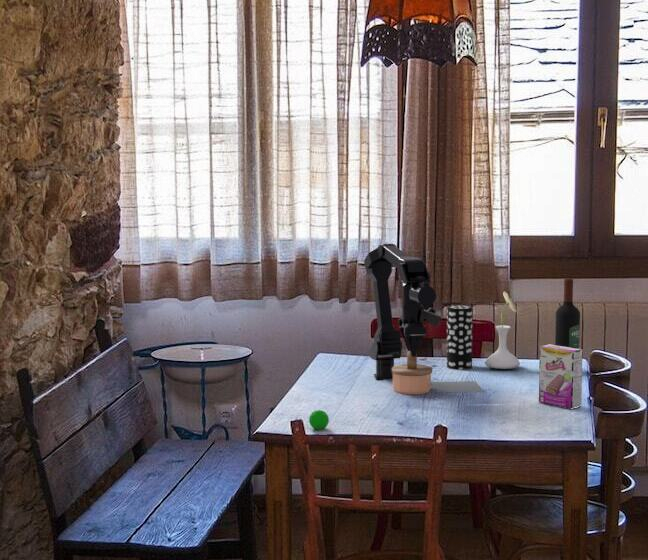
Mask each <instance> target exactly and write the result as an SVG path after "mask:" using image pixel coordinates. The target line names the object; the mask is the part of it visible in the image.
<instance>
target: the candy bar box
mask: <svg viewBox="0 0 648 560" xmlns="http://www.w3.org/2000/svg"><path fill="white" fill-rule="evenodd" d="M538 369H539V373H538V375H539V376H538V377H539V378H538V381H539V382H538V388H539V389H538V403H540V404H545V405H548V404H549V405H548V406H553V405H555V406H554V407H557V406H561V407H560V408H562V407H566V408H565V409H567V408H574V407H577V406H580V405H581V406H582V392H583V391H582V387H583V386H582V384H583V382H582V381H583V380H582V379H583V349H582V348H581V349H580V348H579V349H576V348H569V347H563V346H557V345H555V344H551V343H549V344H543V345H541V346H539V368H538Z"/></svg>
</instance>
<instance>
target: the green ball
mask: <svg viewBox="0 0 648 560" xmlns="http://www.w3.org/2000/svg"><path fill="white" fill-rule="evenodd" d="M329 419H330V418H329V416H328V414H327V413H326V412H325V411H323V410H321V409H318V410H314V411H313V412H311V413H310V415H309V419H308V420H309V425H310V426H311V428H312V429H315V430H316V429H318V430H317V431H321V430H320V429H322V430H324V429H325V428H326V427H327V426H328V424H329V423H330V420H329Z"/></svg>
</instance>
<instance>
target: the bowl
mask: <svg viewBox="0 0 648 560" xmlns="http://www.w3.org/2000/svg"><path fill="white" fill-rule="evenodd" d="M431 382H432V373H431V374H428V375H423V376H403V375H397V374H394V373H393V379H392V389H393V391H394V392H395V393H398V394H403V395H421V394H423V395H424V394H426V393H428V392H430V390H432V387H431V386H432V384H431Z"/></svg>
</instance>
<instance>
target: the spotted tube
mask: <svg viewBox="0 0 648 560" xmlns="http://www.w3.org/2000/svg"><path fill="white" fill-rule="evenodd" d="M473 307H474V306H471V305H461V304H460V305H458V304H457V305H454V304H453V305H448V306H446V368H447V369H451V370H457V371H459V370H460V371H461V370H464V369H465V370H470V369H472V368H473V321H474V319H473Z"/></svg>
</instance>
